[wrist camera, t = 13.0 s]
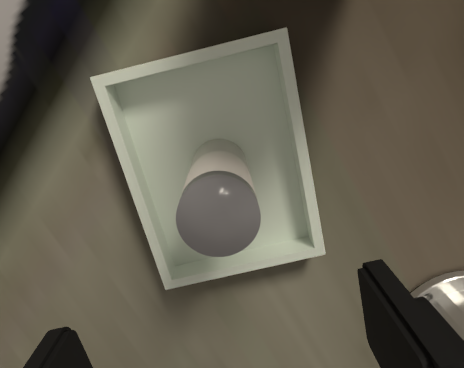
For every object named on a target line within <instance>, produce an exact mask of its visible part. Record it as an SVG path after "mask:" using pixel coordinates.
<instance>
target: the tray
mask: <svg viewBox="0 0 464 368" xmlns="http://www.w3.org/2000/svg"><path fill="white" fill-rule="evenodd" d="M90 79H91V82H92V85H93V88H94V90H95V93H96V96H97V99H98V102H99V104H100V107H101V110H102V113H103V116H104V118H105V121H106V124H107V127H108V130H109V133H110V135H111V138H112V141H113V144H114V147H115V149H116V152H117V155H118V158H119V161H120V164H121V166H122V169H123V172H124V175H125V178H126V180H127V183H128V186H129V189H130V192H131V194H132V197H133V200H134V203H135V206H136V209H137V211H138V214H139V217H140V220H141V223H142V225H143V228H144V231H145V234H146V237H147V239H148V242H149V245H150V248H151V251H152V254H153V256H154V259H155V262H156V265H157V268H158V270H159V273H160V276H161V279H162V282H163V285H164V287H165V290H168V289H172V288H177V287H181V286H186V285H190V284H195V283H199V282H204V281H208V280H213V279H217V278H222V277H226V276H231V275H235V274H239V273H244V272H248V271H253V270H257V269H262V268H266V267H271V266H275V265H280V264H284V263H289V262H293V261H298V260H302V259H307V258H311V257H316V256H320V255H325V254H326V253H325V247H324V242H323V236H322V230H321V224H320V218H319V212H318V206H317V200H316V195H315V189H314V183H313V177H312V171H311V165H310V159H309V154H308V148H307V142H306V136H305V130H304V124H303V118H302V112H301V107H300V101H299V95H298V89H297V83H296V77H295V71H294V65H293V60H292V54H291V48H290V42H289V36H288V30H287V27H286V28H282V29H278V30H274V31H270V32H266V33H262V34H258V35H254V36H250V37H247V38H243V39H239V40H235V41H231V42H227V43H223V44H219V45H215V46H211V47H207V48H203V49H199V50H195V51H192V52H188V53H184V54H180V55H176V56H172V57H168V58H164V59H160V60H156V61H152V62H148V63H144V64H140V65H137V66H133V67H129V68H125V69H121V70H117V71H113V72H109V73H105V74H101V75H97V76H93V77H90ZM213 139H225V140H229V141H231V142H233V143H235V144H236V145H238V146H239V147H240V148H241V149H242V151H243V152H244V154H245V156H246V160H247V163H248V167H249V171H250V175H251V178H252V182H253V186H254V190H255V193H256V197H257V201H258V205H259V209H260V214H261V222H260V228H259V231H258V233H257V235H256V237H255V239H254V240H253V241H252V242H251V244H250V245H249V246H247V247H246V248H245V249H244V250H242V251H240V252H238V253H236V254H234V255H230V256H225V257H211V256H206V255H203V254H200V253H198V252H196V251H195V250H193V249H192V248H190V247H189V246H188V245H187V244H186V243H185V242H184V241H183V239H182V238H181V236H180V234H179V232H178V229H177V225H176V211H177V207H178V204H179V201H180V198H181V194H182V191H183V188H184V185H185V181H186V178H187V175H188V172H189V169H190V165H191V162H192V159H193V156H194V154H195V152H196V150H197V149H198V148H199V147H200V146H201V145H202V144H204V143H205V142H207V141H210V140H213Z"/></svg>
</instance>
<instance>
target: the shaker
mask: <svg viewBox="0 0 464 368" xmlns="http://www.w3.org/2000/svg"><path fill="white" fill-rule="evenodd" d="M260 222H261V214H260V209H259V205H258V201H257V197H256V193H255V190H254V186H253V182H252V178H251V175H250V171H249V167H248V163H247V160H246V156H245V154H244V152H243V151H242V149H241V148H240V147H239V146H238V145H236V144H235V143H233V142H231V141H229V140H225V139H213V140H210V141H207V142H205V143H204V144H202V145H201V146H200V147H199V148H198V149H197V150H196V152H195V154H194V156H193V159H192V162H191V165H190V169H189V172H188V175H187V178H186V181H185V185H184V188H183V191H182V194H181V198H180V201H179V204H178V207H177V211H176V225H177V229H178V232H179V234H180V236H181V238H182V239H183V241H184V242H185V243H186V244H187V245H188V246H189V247H190V248H192V249H193V250H195V251H196V252H198V253H200V254H203V255H206V256H211V257H225V256H230V255H234V254H236V253H238V252H240V251H242V250H244V249H245V248H246V247H247V246H249V245H250V244H251V242H252V241H253V240H254V239H255V237H256V235H257V233H258V231H259V228H260Z"/></svg>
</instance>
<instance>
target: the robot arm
mask: <svg viewBox="0 0 464 368" xmlns="http://www.w3.org/2000/svg"><path fill="white" fill-rule="evenodd" d="M358 278H359V285H360V292H361V299H362V306H363V313H364V320H365V327H366V334H367V339H368V343H369V345H370V348H371V350H372V352H373V354H374V356H375V358H376V360H377V362H378V363H379V365H380V367H381V368H464V271H455V272H451V273H446V274H443V275H440V276H438V277H435V278H432V279H431V280H429V281H427V282H425V283H423V284H422V285H420V286H419V287H418V288H416V289H415V290H414V291H413V292H411V293H409V291H408V290H407V289H406V288H405V287H404V285H403V284H402V283H401V282H400V281H399V279H398V278H397V277H396V276H395V274H394V273H393V272H392V271H391V270H390V268H389V267H388V266H387V265H386V264H385V262H384V261H383V260H381V259H380V260H375V261H370V262H366V263H363V268H360V269H358ZM23 368H93V367H92V365H91V363H90V360H89V358H88V356H87V354H86V352H85V350H84V348H83V345H82V343H81V341H80V339H79V337H78V335H77V333H76V331H74V330H71V329H70V328H69V327H63V328H58V329H53V330H50V331H48V332H47V333H46V335H45V336H44V338H43V339H42V341H41V342H40V343H39V345H38V346H37V348H36V349H35V351H34V352H33V354H32V355H31V357H30V358H29V360H28V361H27V363H26V364H25V366H24V367H23Z"/></svg>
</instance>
